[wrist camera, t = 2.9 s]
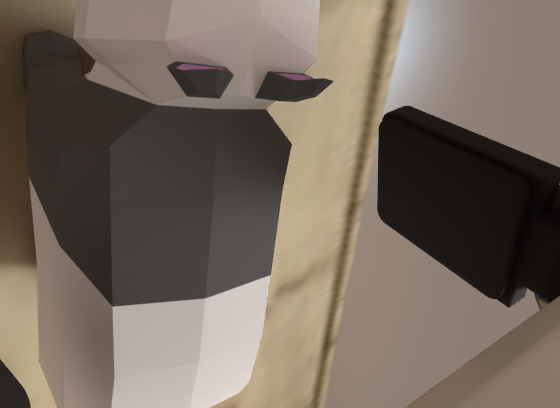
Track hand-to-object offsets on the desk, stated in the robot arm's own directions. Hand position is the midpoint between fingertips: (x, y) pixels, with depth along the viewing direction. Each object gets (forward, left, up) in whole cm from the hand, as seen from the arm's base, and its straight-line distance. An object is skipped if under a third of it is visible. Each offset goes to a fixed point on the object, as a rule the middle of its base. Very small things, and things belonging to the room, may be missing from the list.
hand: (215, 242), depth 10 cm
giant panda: (0, -1, -8) cm, 8 cm away
